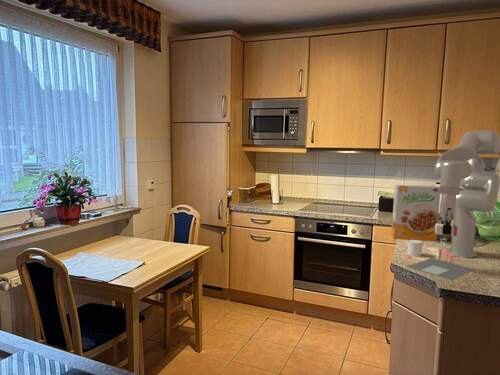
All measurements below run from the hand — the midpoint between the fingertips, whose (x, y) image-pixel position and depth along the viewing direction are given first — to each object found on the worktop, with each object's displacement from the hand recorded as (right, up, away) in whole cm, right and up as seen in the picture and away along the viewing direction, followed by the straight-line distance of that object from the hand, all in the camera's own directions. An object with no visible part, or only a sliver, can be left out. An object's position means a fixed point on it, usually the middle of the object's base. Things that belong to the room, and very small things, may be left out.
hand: (445, 232), depth 160 cm
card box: (0, 0, 0) cm, 0 cm away
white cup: (-5, -14, +20) cm, 24 cm away
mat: (-2, -16, +1) cm, 16 cm away
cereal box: (+9, -10, +51) cm, 53 cm away
